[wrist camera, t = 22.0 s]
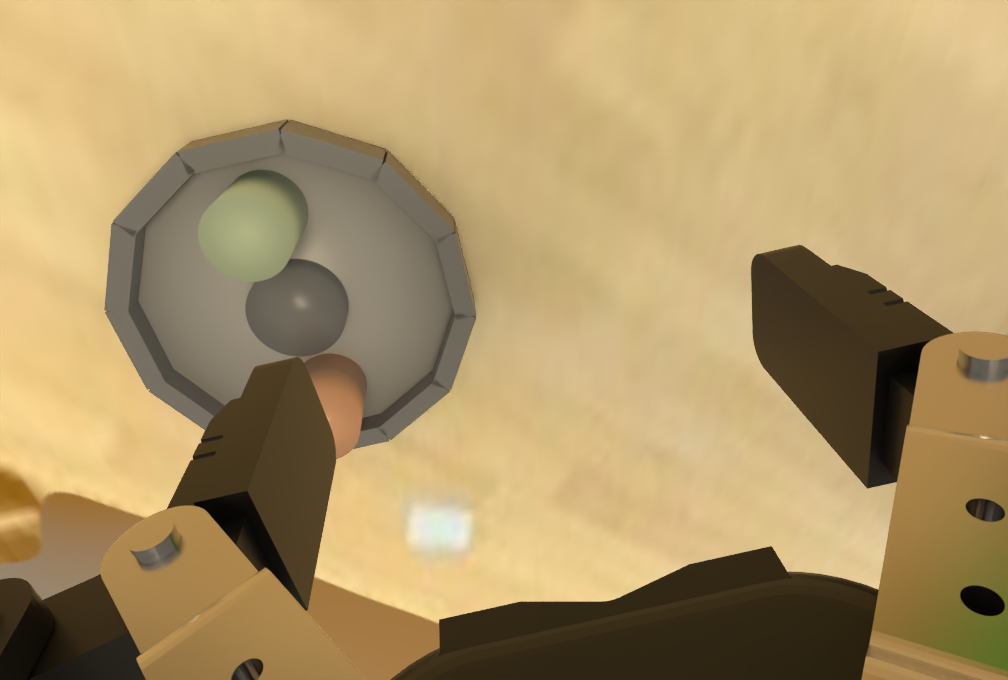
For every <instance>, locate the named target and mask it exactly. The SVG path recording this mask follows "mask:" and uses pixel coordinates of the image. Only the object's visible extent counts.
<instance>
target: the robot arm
mask: <svg viewBox="0 0 1008 680" xmlns="http://www.w3.org/2000/svg"><path fill="white" fill-rule="evenodd" d="M751 281H752V323H753V340H754V345H755V349H756V353H757V355H758V358H759V360H760V362H761V364H762V366H763V367H764V369H765V370H766V371H767V372H768V373H769V374H770V376H771V377H772V378H773V379H774V380H775V381H776V383H777V384H778V385H779V386H780V387H781V388H782V390H783V391H784V392H785V393H786V394H787V395H788V397H789V398H790V399H791V400H792V401H793V402H794V404H795V405H796V406H797V407H798V408H799V409H800V411H801V412H802V413H803V414H804V415H805V416H806V418H807V419H808V420H809V421H810V422H811V423H812V425H813V426H814V427H815V428H816V429H817V430H818V432H819V433H820V434H821V435H822V436H823V437H824V439H825V440H826V441H827V442H828V443H829V444H830V446H831V447H832V448H833V449H834V450H835V451H836V453H837V454H838V455H839V456H840V457H841V458H842V460H843V461H844V462H845V463H846V464H847V465H848V467H849V468H850V469H851V470H852V471H853V472H854V474H855V475H856V476H857V477H858V478H859V479H860V481H861V482H862V483H863V484H864V485H865V486H866V488H871V487H876V486H880V485H885V484H889V483H894V482H897V486H896V492H895V498H894V504H893V509H892V515H891V521H890V527H889V533H888V539H887V545H886V551H885V556H884V562H883V568H882V574H881V580H880V586H879V590H877V589H875V588H872V587H870V586H867V585H864V584H861V583H857V582H854V581H850V580H847V579H843V578H838V577H833V576H828V575H822V574H814V573H804V572H787V571H786V569H785V567H784V566H783V564H782V563H781V561H780V559H779V558H778V556H777V554H776V553H775V551H774V549H773V548H772V546H771V547H766V548H761V549H757V550H752V551H748V552H743V553H739V554H734V555H730V556H725V557H721V558H716V559H712V560H707V561H703V562H698V563H694V564H689V565H687V566H685V567H683V568H681V569H679V570H677V571H675V572H673V573H670V574H668V575H666V576H664V577H662V578H660V579H658V580H656V581H654V582H651V583H649V584H647V585H645V586H643V587H641V588H639V589H637V590H634V591H632V592H630V593H628V594H626V595H624V596H622V597H620V598H617V599H615V600H611V601H605V602H517V603H513V604H508V605H504V606H499V607H495V608H490V609H486V610H481V611H477V612H472V613H467V614H463V615H458V616H454V617H449V618H445V619H440V620H439V627H440V648H439V649H437V650H435V651H433V652H431V653H429V654H427V655H425V656H424V657H422V658H420V659H419V660H417V661H416V662H414V663H412V664H410V665H409V666H408V667H407V668H405V669H404V670H402V671H401V672H400V673H398V674H397V675H396V676H394V677H393V678H392V679H391V680H1008V336H1006V335H1001V334H995V333H987V332H960V333H953V332H951V331H950V330H948V329H947V328H945V327H944V326H942V325H941V324H940V323H938V322H937V321H935V320H934V319H932V318H931V317H929V316H928V315H926V314H925V313H923V312H922V311H920V310H919V309H917V308H916V307H914V306H913V305H912V304H910V303H909V302H903V298H901V297H900V296H898V295H897V294H895V293H894V292H892V291H891V290H889V291H887V289H886V287H885V286H883V285H882V284H881V283H879V282H878V281H876V280H875V279H873V278H872V277H870V276H869V275H867V274H865V273H862V272H859V271H855V270H852V269H849V268H846V267H842V266H839V265H834V266H830V265H829V264H828V263H826V262H825V261H823V260H822V259H821V258H819V257H818V256H816V255H815V254H814V253H812V252H811V251H810V250H808V249H807V248H805V247H804V246H802V245H797V246H792V247H788V248H783V249H779V250H774V251H770V252H765V253H761V254H757V255H755V257H754V258H753V261H752V267H751ZM335 464H336V448H335V441H334V437H333V433H332V430H331V427H330V424H329V422H328V419H327V417H326V414H325V412H324V409H323V407H322V404H321V402H320V399H319V397H318V394H317V392H316V389H315V387H314V384H313V382H312V379H311V377H310V374H309V372H308V370H307V367H306V365H305V364H304V362H303V361H302V359H301V358H299V357H294V358H290V359H285V360H281V361H277V362H272V363H268V364H263V365H259V366H255V367H254V369H253V370H252V373H251V375H250V377H249V379H248V382H247V384H246V386H245V388H244V391H243V393H242V395H241V397H240V398H237V399H233V400H230V401H229V402H228V403H227V404H226V405H225V406H224V407H223V408H222V409H221V410H220V411H219V412H218V413H217V414H216V415H215V416H214V417H213V418H212V419H211V420H210V422H209V424H208V426H207V428H206V430H205V432H204V434H203V436H202V438H201V443H200V444H199V445H198V447H197V449H196V451H195V453H194V455H193V460H191V461H190V463H189V465H188V467H187V469H186V471H185V473H184V475H183V477H182V479H181V481H180V483H179V485H178V487H177V489H176V491H175V493H174V495H173V497H172V499H171V501H170V504H169V506H168V508H167V509H166V510H163V511H160V512H158V513H155V514H153V515H151V516H149V517H147V518H145V519H144V520H142V521H140V522H139V523H137V524H136V525H134V526H132V527H131V528H130V529H129V530H127V531H126V532H125V533H124V534H123V535H122V536H120V537H119V538H118V539H117V540H116V541H115V542H114V544H113V545H112V546H111V547H110V548H109V550H108V551H107V553H106V554H105V556H104V558H103V560H102V564H101V567H100V575H98V576H96V577H94V578H92V579H89V580H87V581H85V582H83V583H80V584H78V585H76V586H74V587H71V588H69V589H67V590H64V591H62V592H60V593H58V594H55V595H53V596H51V597H49V598H47V599H44V600H42V599H41V598H40V596H39V595H38V594H37V593H36V591H35V590H34V589H33V587H32V586H31V585H30V584H29V583H28V582H27V581H25V580H23V579H19V578H8V579H2V580H0V680H366V678H365V677H364V676H363V675H362V674H361V673H360V672H359V671H358V670H357V668H356V667H355V666H354V665H353V664H352V663H351V662H350V661H349V659H348V658H347V657H346V656H345V655H344V654H343V653H342V651H341V650H340V649H339V648H338V647H337V646H336V645H335V643H334V642H333V641H332V640H331V639H330V638H329V637H328V636H327V634H326V633H325V632H324V631H323V630H322V629H321V628H320V627H319V625H318V624H317V623H316V622H315V621H314V620H313V619H312V618H311V617H310V615H308V613H307V612H306V611H307V610H308V605H309V600H310V595H311V589H312V583H313V579H314V574H315V569H316V563H317V558H318V553H319V548H320V542H321V537H322V532H323V527H324V522H325V516H326V511H327V506H328V501H329V495H330V490H331V485H332V480H333V474H334V469H335Z"/></svg>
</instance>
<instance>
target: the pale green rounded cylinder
mask: <svg viewBox="0 0 1008 680" xmlns="http://www.w3.org/2000/svg"><path fill="white" fill-rule="evenodd" d="M307 220H308V206H307V202H306V199H305V197H304V195H303V193H302V192H301V190H300V189H299V187H298V186H297V185H296V184H295V183H294V182H293V181H292V180H290V179H289V178H288V177H286V176H284V175H282V174H280V173H278V172H275V171H271V170H253V171H249V172H246V173H244V174H242V175H240V176H239V177H238V178H236V179H235V180H234V182H233V183H232V184H231V185H230V186H229V187H228V188H227V189H226V190H225V191H224V192H223V193H222V194H221V195H220V196H219V197H218V198H217V199H216V200H215V201H214V202H213V203H212V204H211V205H210V206H209V208H208V209H207V210H206V211H205V212H204V214H203V215H202V217H201V219H200V223H199V227H198V239H199V244H200V247H201V250H202V252H203V254H204V255H205V257H206V259H207V260H208V261H209V262H210V264H211V265H212V266H213V267H214V268H216V269H217V270H218V271H219V272H221V273H223V274H224V275H226V276H228V277H230V278H233V279H236V280H239V281H245V282H258V281H263V280H267V279H269V278H272V277H273V276H275V275H277V274H278V273H279V272H280V271H281V270H283V268H284V267H285V266H286V265H287V263H288V261H289V259H290V257H291V255H292V253H293V251H294V249H295V247H296V245H297V243H298V241H299V239H300V237H301V235H302V233H303V231H304V229H305V227H306V224H307Z"/></svg>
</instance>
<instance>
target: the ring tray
mask: <svg viewBox="0 0 1008 680" xmlns="http://www.w3.org/2000/svg"><path fill="white" fill-rule="evenodd" d="M385 151H386V149H383V148H380V147H377V146H374V145H370V144H367V143H364V142H361V141H357V140H354V139H351V138H348V137H345V136H341V135H338V134H335V133H332V132H328V131H325V130H322V129H319V128H315V127H312V126H309V125H306V124H302V123H299V122H296V121H293V120H290V121H289V122H288V120H284V121H279V122H275V123H270V124H266V125H262V126H257V127H253V128H248V129H244V130H240V131H235V132H231V133H227V134H222V135H218V136H213V137H209V138H205V139H200V140H196V141H192V142H191V143H189V144H188V145H186V146H185V147H183V148H182V149H180V150H179V151H178V152H176V153H175V154H174V155H173V156H172V157H171V158H170V159H169V160H168V162H167V163H166V164H165V165H164V166H163V167H162V168H161V169H160V170H159V171H158V172H157V174H156V175H155V176H154V177H153V178H152V179H151V180H150V181H149V182H148V183H147V184H146V186H145V187H144V188H143V189H142V190H141V191H140V192H139V193H138V194H137V195H136V196H135V198H134V199H133V200H132V201H131V202H130V203H129V204H128V205H127V206H126V207H125V209H124V210H123V211H122V212H121V213H120V214H119V215H118V216H117V217H116V218H115V219H114V221H113V223H112V226H111V238H110V250H109V262H108V275H107V287H106V299H105V310H106V312H105V313H106V315H107V317H108V319H109V321H110V322H111V324H112V326H113V328H114V330H115V332H116V333H117V335H118V337H119V339H120V341H121V343H122V344H123V346H124V348H125V350H126V352H127V354H128V355H129V357H130V359H131V361H132V363H133V365H134V366H135V368H136V370H137V372H138V374H139V376H140V377H141V379H142V381H143V383H144V385H145V386H146V388H147V389H150V390H149V392H151V393H152V394H153V395H155V396H156V397H158V398H159V399H161V400H162V401H164V402H165V403H167V404H168V405H169V406H171V407H172V408H174V409H175V410H177V411H178V412H180V413H181V414H183V415H184V416H185V417H187V418H188V419H190V420H191V421H193V422H194V423H196V424H197V425H199V426H200V427H201V428H203V429H204V430H206V428H207V426H208V424H209V422H210V420H211V419H212V418H213V417H214V416H215V415H216V414H217V413H218V412H219V411H220V410H221V409H222V408H223V407H224V406H225V405H226V404H227V403H228V402H229V401H230V400H233V399H237V398H240V397H241V395H242V393H243V391H244V388H245V386H246V384H247V382H248V379H249V377H250V375H251V373H252V370H253V369H254V367H255V366H259V365H263V364H268V363H272V362H277V361H281V360H285V359H290V358H294V357H299V358H301V359H302V361H303V362H304V363H305V362H306V361H307V360H309V359H310V358H312V357H314V356H317V355H321V354H338V355H342V356H345V357H347V358H350V359H351V360H353V361H354V362H355V363H357V364H358V365H359V366H360V367H361V369H362V370H363V372H364V374H365V376H366V380H367V390H366V397H365V403H364V410H363V416H362V423H361V430H360V436H359V439H358V442H357V444H356V445H355V447H354V448H353V449H355V448H360V447H364V446H369V445H373V444H378V443H382V442H387V441H389V439H390V440H391V439H393V438H394V437H395V436H396V435H398V434H399V433H400V432H401V431H402V430H404V429H405V428H406V427H407V426H408V425H410V424H411V423H412V422H413V421H415V420H416V419H417V418H418V417H419V416H421V415H422V414H423V413H424V412H425V411H427V410H428V409H429V408H430V407H432V406H433V405H434V404H435V403H436V402H438V401H439V400H440V399H441V398H442V397H444V396H445V395H446V394H447V393H449V392H450V390H451V388H452V385H453V382H454V380H455V377H456V374H457V371H458V368H459V365H460V362H461V359H462V356H463V354H464V351H465V348H466V345H467V342H468V339H469V336H470V333H471V331H472V328H473V325H474V322H475V319H476V311H475V304H474V297H473V293H472V289H471V285H470V281H469V277H468V273H467V269H466V265H465V261H464V257H463V253H462V249H461V245H460V240H459V236H458V232H457V228H456V224H455V220H454V219H453V217H452V215H451V214H450V213H449V212H448V211H447V210H446V209H445V208H444V207H443V206H442V205H441V204H440V203H439V202H438V201H437V200H436V199H435V198H434V197H433V196H432V195H431V194H430V193H429V192H428V191H427V190H426V189H425V188H424V187H423V186H422V185H421V184H420V183H419V182H418V181H417V180H416V179H415V178H414V177H413V176H412V174H411V173H410V172H409V171H408V170H407V169H406V168H405V167H404V166H403V165H402V164H401V163H400V162H399V161H398V160H397V159H396V158H395V157H394V156H393V155H392V154H391V153H390V152H389V151H388V152H387V153H386V154H385ZM253 170H271V171H275V172H278V173H280V174H282V175H284V176H286V177H288V178H289V179H290V180H292V181H293V182H294V183H295V184H296V185H297V186H298V187H299V189H300V190H301V192H302V193H303V195H304V197H305V199H306V202H307V206H308V220H307V224H306V227H305V229H304V231H303V233H302V235H301V237H300V239H299V241H298V243H297V245H296V247H295V249H294V251H293V253H292V255H291V257H290V259H289V261H288V263H287V265H286V266H285V267H284V268H283V270H281V271H280V272H279V273H278V274H277V275H275V276H273V277H272V278H269V279H267V280H263V281H258V282H245V281H239V280H236V279H233V278H230V277H228V276H226V275H224V274H223V273H221V272H219V271H218V270H217V269H216V268H214V267H213V266H212V265H211V264H210V262H209V261H208V260H207V259H206V257H205V255H204V254H203V252H202V250H201V247H200V244H199V239H198V227H199V223H200V219H201V217H202V215H203V214H204V212H205V211H206V210H207V209H208V208H209V206H210V205H211V204H212V203H213V202H214V201H215V200H216V199H217V198H218V197H219V196H220V195H221V194H222V193H223V192H224V191H225V190H226V189H227V188H228V187H229V186H230V185H231V184H232V183H233V182H234V180H235V179H236V178H238V177H239V176H240V175H242V174H244V173H246V172H249V171H253Z"/></svg>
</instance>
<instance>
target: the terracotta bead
mask: <svg viewBox="0 0 1008 680" xmlns="http://www.w3.org/2000/svg"><path fill="white" fill-rule="evenodd" d="M304 364H305V365H306V367H307V370H308V372H309V374H310V377H311V379H312V382H313V384H314V387H315V389H316V392H317V394H318V397H319V399H320V402H321V404H322V407H323V409H324V412H325V414H326V417H327V419H328V422H329V424H330V427H331V430H332V433H333V437H334V441H335V448H336V459H337V458H340V457H342V456H344V455H346V454H347V453H349V452H350V451H351V450H352V449H353V448H354V447H355V445H356V444H357V442H358V439H359V436H360V430H361V423H362V416H363V410H364V403H365V397H366V390H367V380H366V376H365V374H364V372H363V370H362V369H361V367H360V366H359V365H358V364H357V363H355V362H354V361H353V360H351V359H350V358H347V357H345V356H342V355H338V354H321V355H317V356H314V357H312V358H310V359H309V360H307V361H306V362H305V363H304Z"/></svg>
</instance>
